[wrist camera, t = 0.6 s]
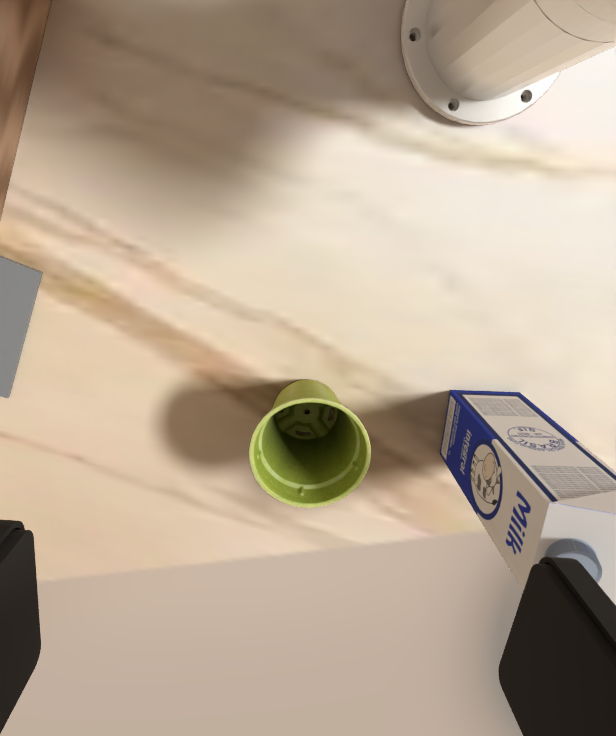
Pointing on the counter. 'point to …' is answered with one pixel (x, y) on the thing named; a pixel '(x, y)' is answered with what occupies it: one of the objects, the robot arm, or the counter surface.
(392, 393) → the counter surface
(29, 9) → the wooden tray
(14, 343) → the mat
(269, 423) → the plant pot
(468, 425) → the milk carton
